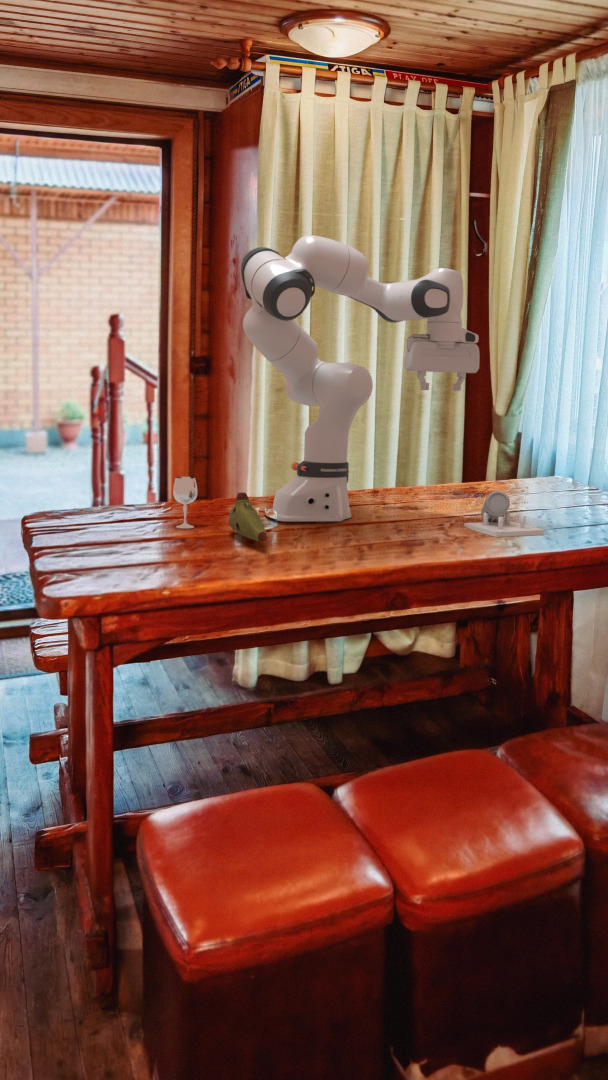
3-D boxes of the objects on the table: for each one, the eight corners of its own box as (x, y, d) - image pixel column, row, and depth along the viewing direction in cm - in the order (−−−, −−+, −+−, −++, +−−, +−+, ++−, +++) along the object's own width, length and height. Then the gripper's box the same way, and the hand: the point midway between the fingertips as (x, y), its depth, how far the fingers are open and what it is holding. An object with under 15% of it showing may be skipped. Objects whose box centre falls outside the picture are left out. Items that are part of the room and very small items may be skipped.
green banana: (277, 544, 199) (277, 499, 197) (254, 546, 196) (255, 500, 195) (241, 530, 216) (242, 488, 215) (220, 531, 214) (221, 489, 212)
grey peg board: (495, 537, 215) (496, 519, 215) (464, 527, 228) (465, 511, 227) (544, 534, 221) (545, 517, 220) (510, 525, 233) (511, 509, 233)
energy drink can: (504, 517, 222) (497, 529, 236) (514, 496, 222) (507, 508, 237) (481, 507, 223) (476, 519, 237) (491, 486, 223) (486, 499, 238)
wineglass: (170, 525, 220) (170, 476, 218) (193, 524, 222) (194, 476, 220) (176, 529, 215) (176, 479, 212) (199, 528, 217) (199, 478, 214)
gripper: (413, 332, 221) (410, 389, 223) (484, 336, 229) (481, 391, 231) (401, 333, 227) (398, 389, 229) (470, 337, 234) (467, 391, 237)
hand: (440, 390), depth 230 cm, fingers open, 8 cm apart
